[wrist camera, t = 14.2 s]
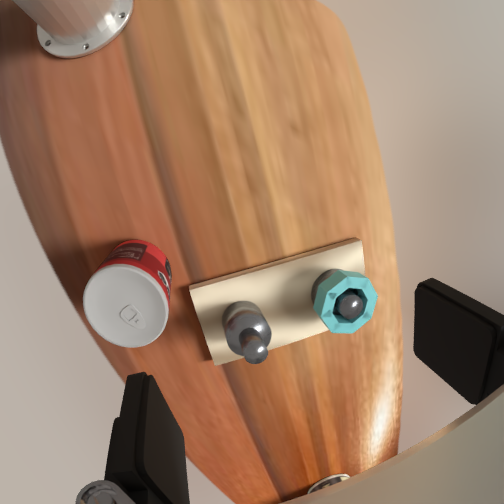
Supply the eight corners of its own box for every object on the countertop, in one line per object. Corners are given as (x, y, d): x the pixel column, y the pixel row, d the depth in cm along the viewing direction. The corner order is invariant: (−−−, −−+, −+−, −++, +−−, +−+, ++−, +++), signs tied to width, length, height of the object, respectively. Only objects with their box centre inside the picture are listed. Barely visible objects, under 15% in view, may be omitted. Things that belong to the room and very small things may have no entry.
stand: (217, 307, 38) (225, 341, 30) (257, 295, 38) (275, 326, 31) (227, 341, 39) (238, 379, 32) (266, 330, 40) (284, 365, 32)
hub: (307, 276, 39) (325, 292, 34) (350, 262, 40) (372, 276, 35) (314, 318, 41) (331, 338, 36) (354, 303, 42) (375, 321, 36)
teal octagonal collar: (304, 295, 37) (312, 303, 35) (351, 259, 37) (361, 265, 35) (331, 334, 39) (339, 343, 37) (373, 300, 39) (383, 307, 37)
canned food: (152, 312, 38) (144, 362, 27) (97, 279, 35) (69, 319, 25) (184, 261, 37) (185, 298, 27) (126, 225, 35) (104, 248, 24)
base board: (189, 285, 38) (189, 290, 37) (355, 237, 41) (361, 240, 39) (213, 359, 41) (215, 365, 40) (363, 310, 44) (368, 314, 43)
